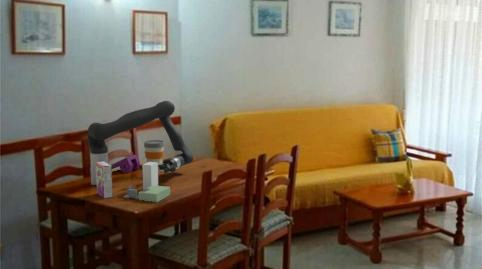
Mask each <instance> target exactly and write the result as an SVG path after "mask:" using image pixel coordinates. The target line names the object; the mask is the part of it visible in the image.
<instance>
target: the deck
mask: <svg viewBox="0 0 482 269" xmlns="http://www.w3.org/2000/svg"><path fill="white" fill-rule="evenodd" d="M168 196H171V186H164V185H163V186H162V185H158V186H156V185H152V186H150V187H148V188H146V189H144V190H143V189H142V190H140V191H138V189H134V186H133V185H129V186H127V187H126V194H125V195H122V197H123V199H129V198H132V199H131V200H138V199H139V200H138V201H142V200H144V202H145V201H146V202H151V201H152V202H153V203H158V202H159V201H161V200H163V199H166V198H167V197H168ZM152 202H151V203H152Z"/></svg>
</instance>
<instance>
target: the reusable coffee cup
mask: <svg viewBox="0 0 482 269" xmlns="http://www.w3.org/2000/svg"><path fill="white" fill-rule="evenodd" d="M143 147H144V155H145V159H146V163H148V162H157V163H158V164H162V163H163V159H164V155H165V150H164V149H165V148H164V147H165V141H164V140H160V139H153V140H146V141H144V143H143Z"/></svg>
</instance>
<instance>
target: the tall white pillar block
mask: <svg viewBox="0 0 482 269" xmlns="http://www.w3.org/2000/svg"><path fill="white" fill-rule="evenodd" d="M141 166H142V190H144V189H146V188H148V187H150V186H152V185H156V186H159V171H158V169H159V167H158V163H157V162H148V163H147V162H145V163H143V164H142V165H141Z"/></svg>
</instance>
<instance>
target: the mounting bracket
mask: <svg viewBox="0 0 482 269" xmlns="http://www.w3.org/2000/svg"><path fill="white" fill-rule="evenodd" d="M110 165H111V168H112V170H113V169H116V168H118V167H119V169H120V171H121V172H122V173H125V174H128V173H131V171H137V170H139V169H140V167H141V162H140V160H139V157H138V155H137V154H134V155H130V156H126V157H125V158H123V159H121V160H119V161H116V162H115V163H112V164H110Z"/></svg>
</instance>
